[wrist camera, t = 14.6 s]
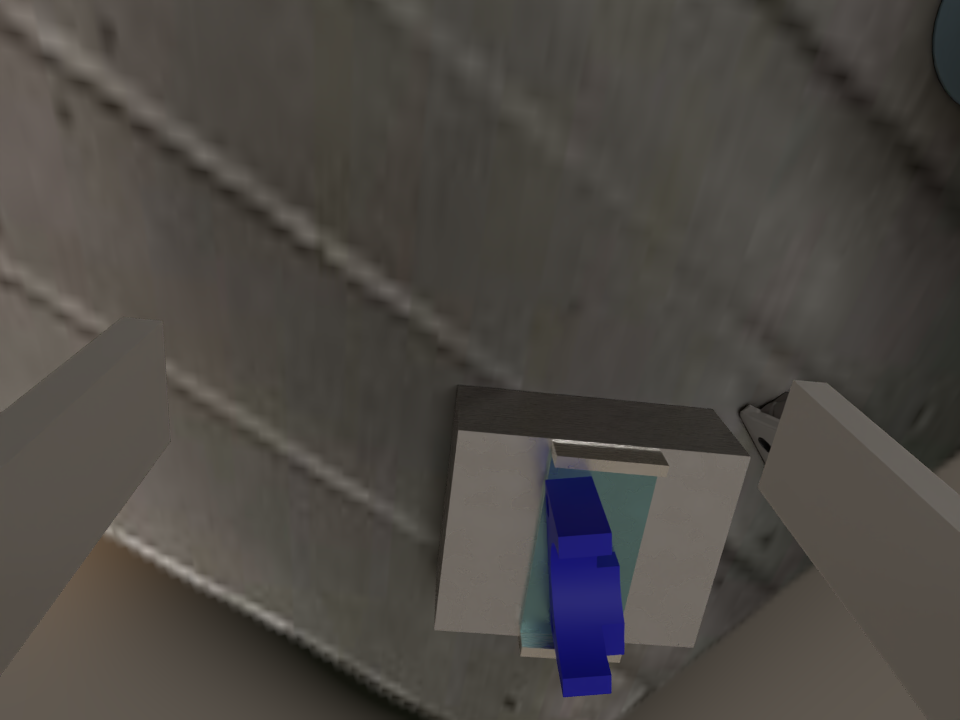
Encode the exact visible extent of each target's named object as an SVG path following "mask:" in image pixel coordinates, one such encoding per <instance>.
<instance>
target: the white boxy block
mask: <svg viewBox="0 0 960 720" xmlns="http://www.w3.org/2000/svg"><path fill="white" fill-rule="evenodd" d="M750 458H751V456H750V455H749V454H748V452H747V451H746V450H745V449H744V447H743V446H742V445H741V444H740V442H739V441H738V440H737V439H736V437H735V436H734V435H733V434H732V432H731V431H730V430H729V429H728V427H727V426H726V425H725V424H724V422H723V421H722V420H721V419H720V417H719V416H718V415H717V414H716V412H715V411H714V410H713V409H705V408H694V407H684V406H673V405H663V404H652V403H642V402H631V401H621V400H610V399H600V398H589V397H579V396H568V395H558V394H547V393H537V392H526V391H516V390H505V389H495V388H484V387H474V386H463V385H458V388H457V396H456V405H455V413H454V422H453V430H452V439H451V447H450V456H449V464H448V473H447V481H446V490H445V498H444V507H443V515H442V524H441V532H440V541H439V549H438V558H437V567H436V594H435V621H434V630H442V631H457V632H471V633H486V634H501V635H516V636H518V640H519V649H520V656H527V657H542V658H556V654H555V648H554V643H553V637H552V632H551V624H550V598H549V572H548V546H547V520H546V494H545V480H550V479H563V478H575V477H588V476H592V478H593V481H594V484H595V487H596V489H597V492H598V495H599V498H600V501H601V504H602V506H603V509H604V512H605V515H606V518H607V520H608V523H609V526H610V529H611V532H612V552H615V554H616V557H617V559H618V562H619V565H620V587H621V599H622V608H623V616H624V623H625V629H624V643H634V644H648V645H663V646H678V647H694V644H695V640H696V637H697V634H698V631H699V627H700V624H701V621H702V617H703V614H704V611H705V607H706V604H707V601H708V597H709V594H710V591H711V587H712V584H713V581H714V577H715V574H716V571H717V567H718V564H719V561H720V557H721V554H722V551H723V548H724V544H725V541H726V538H727V534H728V531H729V528H730V524H731V521H732V518H733V514H734V511H735V508H736V504H737V501H738V498H739V494H740V491H741V488H742V484H743V481H744V478H745V475H746V471H747V468H748V465H749V461H750ZM607 659H608V662H618V663H620V659H621V655H610V656H607Z"/></svg>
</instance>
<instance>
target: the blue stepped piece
mask: <svg viewBox="0 0 960 720" xmlns="http://www.w3.org/2000/svg"><path fill="white" fill-rule="evenodd" d="M545 494H546V520H547V546H548V572H549V598H550V624H551V632H552V637H553V643H554V648H555V654H556V660H557V665H558V671H559V676H560V682H561V688H562V693H563V697H573V696H585V695H598V694H610V693H611V672H610V668H609V663H608V659H607V656H610V655H623V654H624V629H625V623H624V616H623V608H622V599H621V587H620V565H619V562H618V559H617V557H616V554H615V552H612V532H611V529H610V526H609V523H608V520H607V518H606V515H605V512H604V509H603V506H602V504H601V501H600V498H599V495H598V492H597V489H596V487H595V484H594V481H593V478H592V476H588V477H575V478H563V479H550V480H545Z"/></svg>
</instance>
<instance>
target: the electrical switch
mask: <svg viewBox="0 0 960 720" xmlns="http://www.w3.org/2000/svg"><path fill="white" fill-rule="evenodd" d="M788 394H789V393H788V392H785V393H784V394H783V395H781V396H780V397H779V398H777V399H776V400H775V401H773V402H771V403H769V404H767V405H766V406H764V407H763V408H762V409H758V408H756V407H754V406H752V405H748V406H747V407H745V408H744V409H743V410H742V411H741V412H740V417H741V419H742V421H743V422H744V424H745V426H746V428H747V430H748V432H749V434H750V436H751V438H752V439H753V441H754V443H755V445H756V447H757V449H758V451H759V453H760V455H761V456H762V458H763V460H764V462H765V464H766V461H767V458H768V455H769V452H770V449H771V446H772V443H773V440H774V437H775V434H776V431H777V428H778V425H779V421H780V418H781V415H782V412H783V409H784V406H785V403H786V400H787V397H788Z"/></svg>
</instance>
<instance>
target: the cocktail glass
mask: <svg viewBox="0 0 960 720" xmlns="http://www.w3.org/2000/svg"><path fill="white" fill-rule="evenodd" d="M933 59H934V66H935V69H936V72H937V75H938V78H939V80H940V82H941V84H942V86H943V88H944V89H945V91H946V92H947V93H948V94H949V96H950V97H951V98H952V99H953V100H954V101H955V102H956V103H958V104H959V105H960V0H942V2H941V5H940V7H939V11H938V14H937V17H936V21H935V26H934V32H933Z"/></svg>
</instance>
